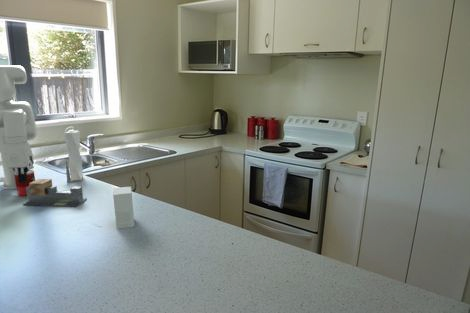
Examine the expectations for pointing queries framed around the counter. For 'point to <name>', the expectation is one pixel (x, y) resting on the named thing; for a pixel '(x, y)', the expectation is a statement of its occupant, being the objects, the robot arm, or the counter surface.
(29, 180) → the canned food
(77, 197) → the notched rail
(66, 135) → the skyscraper
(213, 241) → the counter surface
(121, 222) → the small box
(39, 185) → the tan slotted wooden block
